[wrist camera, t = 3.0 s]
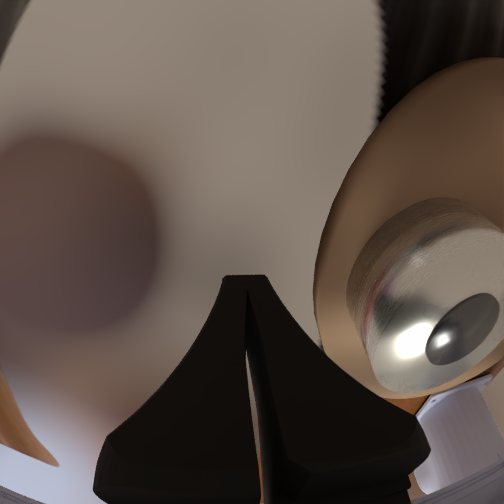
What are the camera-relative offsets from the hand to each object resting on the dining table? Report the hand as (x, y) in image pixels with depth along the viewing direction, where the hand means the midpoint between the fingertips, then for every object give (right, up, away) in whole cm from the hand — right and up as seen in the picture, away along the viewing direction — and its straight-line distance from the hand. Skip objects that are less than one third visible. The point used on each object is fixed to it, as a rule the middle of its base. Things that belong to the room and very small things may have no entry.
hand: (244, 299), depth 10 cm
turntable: (+13, +1, +2) cm, 13 cm away
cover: (+7, +1, +1) cm, 7 cm away
